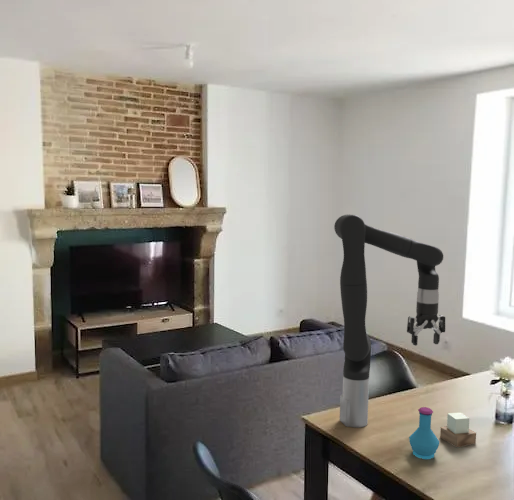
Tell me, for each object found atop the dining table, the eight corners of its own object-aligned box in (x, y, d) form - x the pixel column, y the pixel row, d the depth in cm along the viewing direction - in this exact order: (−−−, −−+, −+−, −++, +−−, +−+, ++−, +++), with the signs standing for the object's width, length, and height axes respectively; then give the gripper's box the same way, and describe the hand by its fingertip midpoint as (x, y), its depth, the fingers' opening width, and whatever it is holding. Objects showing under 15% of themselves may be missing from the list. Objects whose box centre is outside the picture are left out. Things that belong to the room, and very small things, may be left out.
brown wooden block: (456, 448, 184) (457, 436, 183) (440, 438, 191) (440, 427, 190) (475, 444, 187) (476, 432, 186) (458, 434, 194) (458, 423, 194)
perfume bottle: (434, 464, 172) (436, 417, 171) (404, 456, 177) (406, 410, 175) (441, 452, 180) (444, 407, 178) (413, 445, 185) (415, 401, 183)
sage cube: (455, 433, 185) (455, 419, 185) (446, 427, 190) (447, 413, 190) (468, 432, 186) (469, 418, 186) (460, 426, 191) (460, 412, 191)
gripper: (415, 303, 196) (413, 348, 198) (451, 302, 200) (448, 346, 201) (404, 299, 203) (402, 342, 205) (439, 298, 207) (437, 340, 209)
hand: (425, 344), depth 203 cm, fingers open, 8 cm apart
